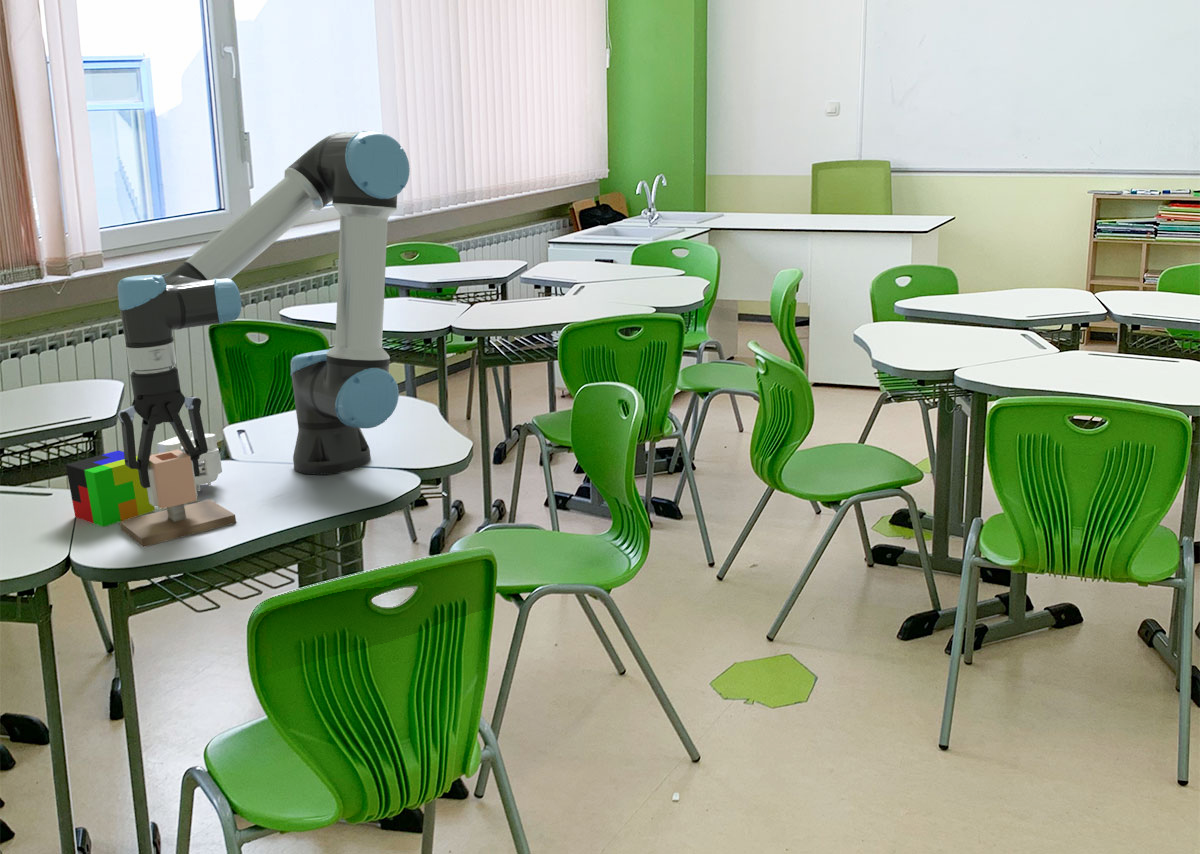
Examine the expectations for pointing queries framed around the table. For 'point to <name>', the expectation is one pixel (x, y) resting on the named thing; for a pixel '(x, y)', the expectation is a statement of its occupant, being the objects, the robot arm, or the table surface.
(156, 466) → the peach block with hole
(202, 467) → the mechanical part
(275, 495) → the table surface
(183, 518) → the shaft plate
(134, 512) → the puzzle toy
